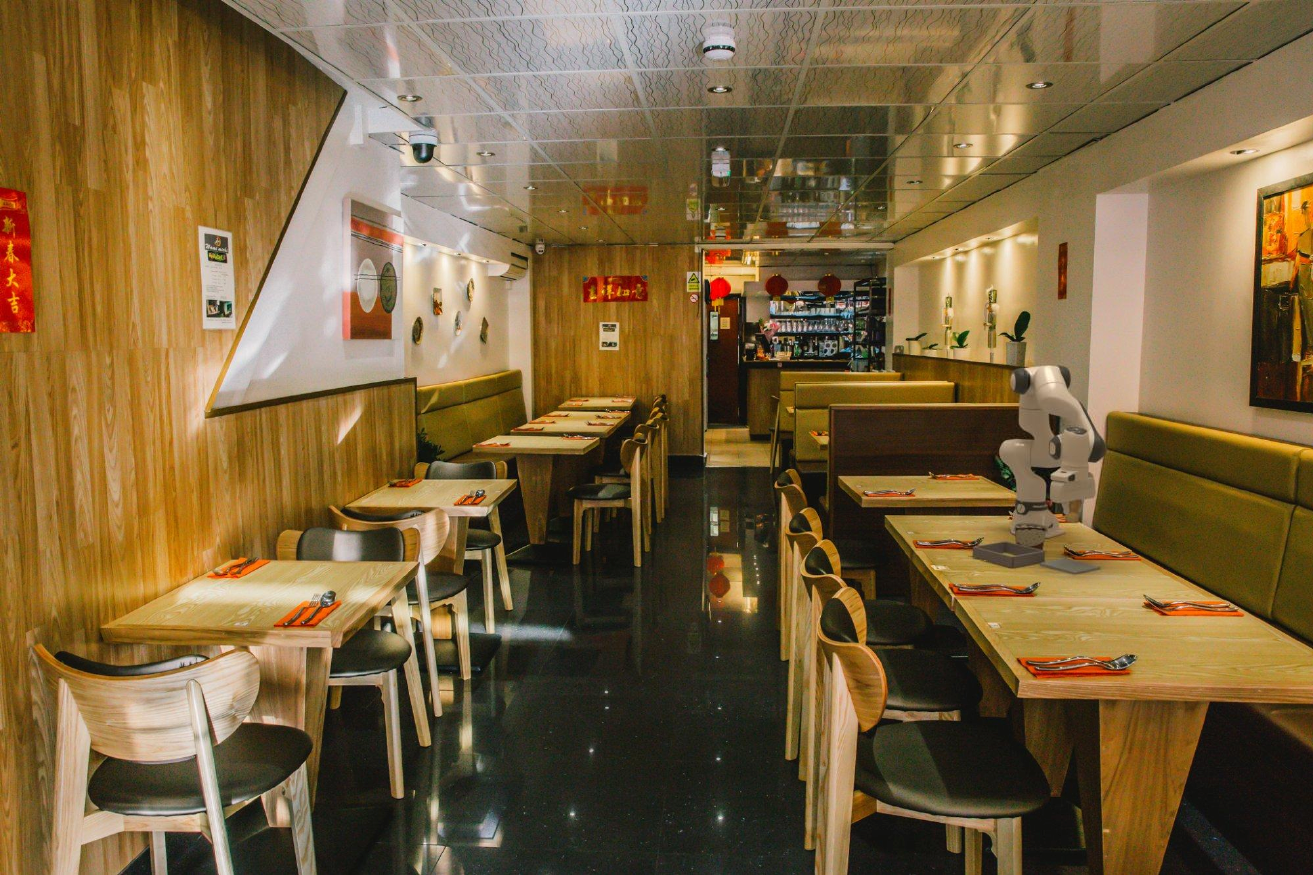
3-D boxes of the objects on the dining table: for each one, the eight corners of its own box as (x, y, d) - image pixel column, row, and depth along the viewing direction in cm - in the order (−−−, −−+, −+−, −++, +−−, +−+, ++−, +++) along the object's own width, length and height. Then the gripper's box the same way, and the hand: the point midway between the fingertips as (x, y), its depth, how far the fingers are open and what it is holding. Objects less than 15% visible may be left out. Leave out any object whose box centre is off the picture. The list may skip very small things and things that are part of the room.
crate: (1004, 551, 336) (1005, 541, 335) (1045, 561, 320) (1046, 551, 320) (971, 557, 327) (971, 546, 327) (1011, 568, 312) (1012, 557, 311)
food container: (1041, 548, 340) (1042, 523, 339) (1046, 552, 334) (1047, 526, 333) (1008, 547, 341) (1009, 522, 340) (1012, 551, 335) (1014, 525, 334)
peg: (1070, 519, 314) (1071, 497, 313) (1081, 522, 310) (1082, 499, 309) (1062, 521, 312) (1063, 498, 311) (1073, 523, 308) (1074, 500, 307)
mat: (1065, 560, 322) (1065, 558, 322) (1100, 569, 310) (1100, 566, 310) (1039, 565, 316) (1039, 563, 316) (1074, 574, 304) (1074, 572, 303)
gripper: (1085, 470, 317) (1083, 508, 318) (1047, 475, 307) (1045, 514, 309) (1101, 472, 311) (1099, 511, 313) (1063, 477, 301) (1061, 517, 303)
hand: (1072, 512), depth 311 cm, fingers closed on peg, 4 cm apart
